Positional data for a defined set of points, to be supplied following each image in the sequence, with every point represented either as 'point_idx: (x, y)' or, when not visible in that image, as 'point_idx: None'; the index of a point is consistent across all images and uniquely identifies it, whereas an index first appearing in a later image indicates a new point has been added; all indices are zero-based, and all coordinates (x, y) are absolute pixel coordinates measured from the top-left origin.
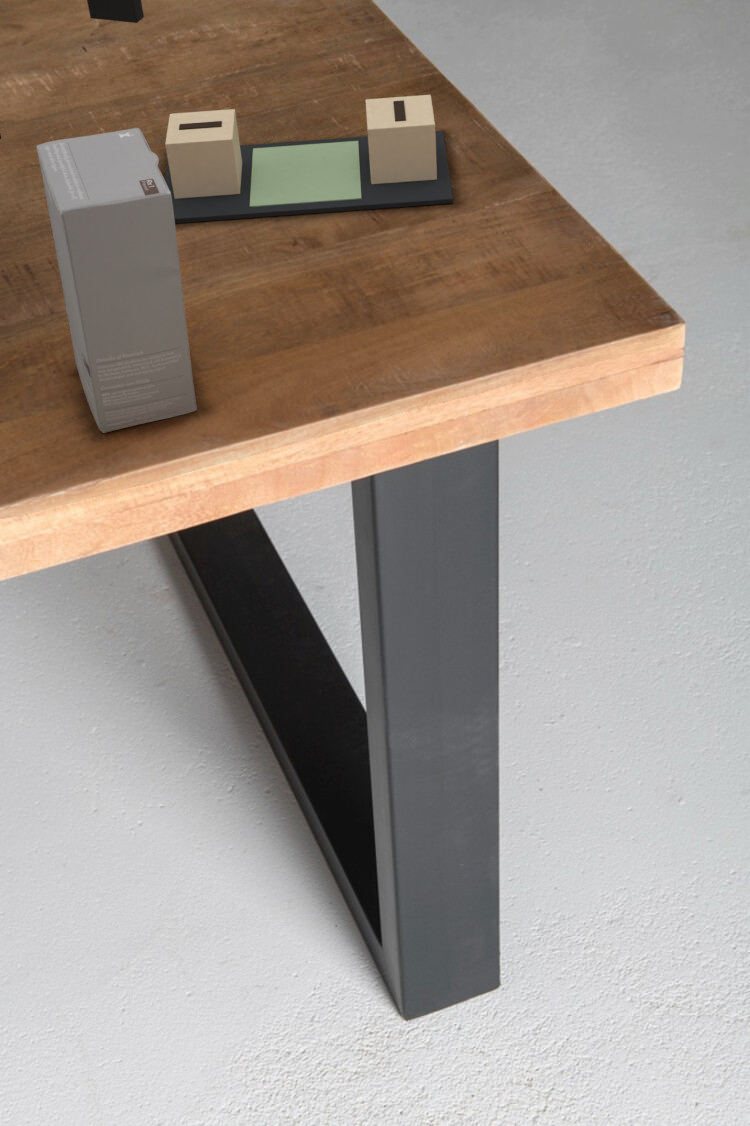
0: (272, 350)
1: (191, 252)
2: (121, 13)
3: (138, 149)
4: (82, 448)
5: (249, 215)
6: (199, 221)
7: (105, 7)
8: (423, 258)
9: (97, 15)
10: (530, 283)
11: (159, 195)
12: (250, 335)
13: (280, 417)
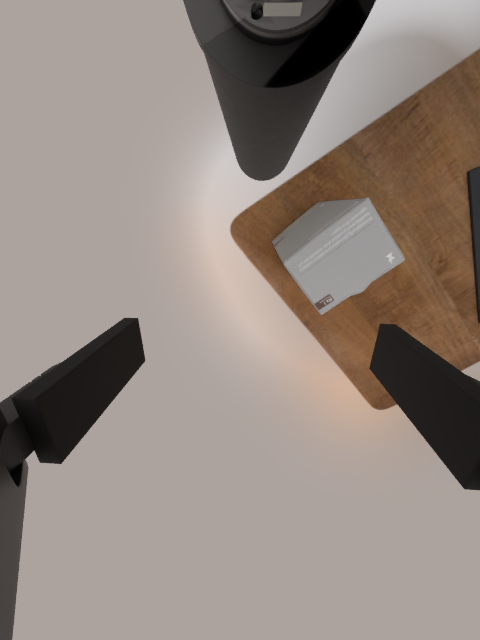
0: None
1: (432, 208)
2: (376, 359)
3: (370, 275)
4: (261, 237)
5: (472, 225)
6: (469, 196)
7: (382, 346)
8: (425, 323)
9: (380, 332)
10: None
11: (317, 310)
12: None
13: (299, 307)
